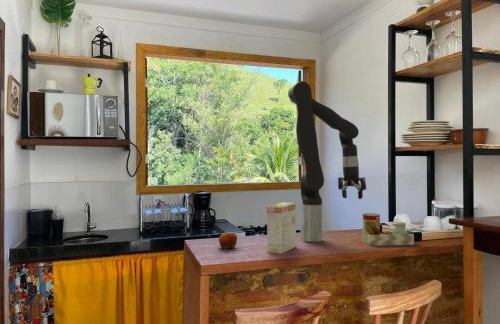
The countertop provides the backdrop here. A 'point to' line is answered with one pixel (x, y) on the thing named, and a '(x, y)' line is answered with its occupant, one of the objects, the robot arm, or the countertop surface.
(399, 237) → the grey green tray
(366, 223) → the canned food
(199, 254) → the countertop surface
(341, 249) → the countertop surface
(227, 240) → the fruit
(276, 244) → the coffeecake box
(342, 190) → the robot arm
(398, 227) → the jar
